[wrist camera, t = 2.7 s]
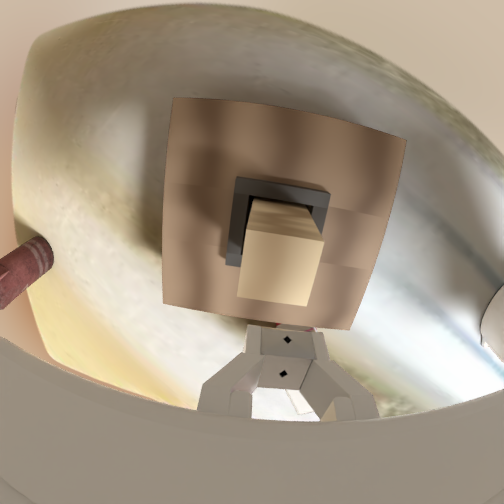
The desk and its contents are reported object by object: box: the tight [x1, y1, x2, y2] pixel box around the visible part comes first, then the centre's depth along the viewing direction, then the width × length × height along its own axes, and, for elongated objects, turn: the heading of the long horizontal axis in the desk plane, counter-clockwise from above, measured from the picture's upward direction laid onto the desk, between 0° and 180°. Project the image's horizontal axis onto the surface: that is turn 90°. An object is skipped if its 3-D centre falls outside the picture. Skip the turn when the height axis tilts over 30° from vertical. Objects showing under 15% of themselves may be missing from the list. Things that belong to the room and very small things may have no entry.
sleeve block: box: [162, 98, 407, 330], centre depth 26 cm, size 20×20×9 cm
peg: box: [237, 196, 324, 307], centre depth 20 cm, size 4×4×9 cm
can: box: [0, 237, 54, 310], centre depth 29 cm, size 6×6×14 cm
